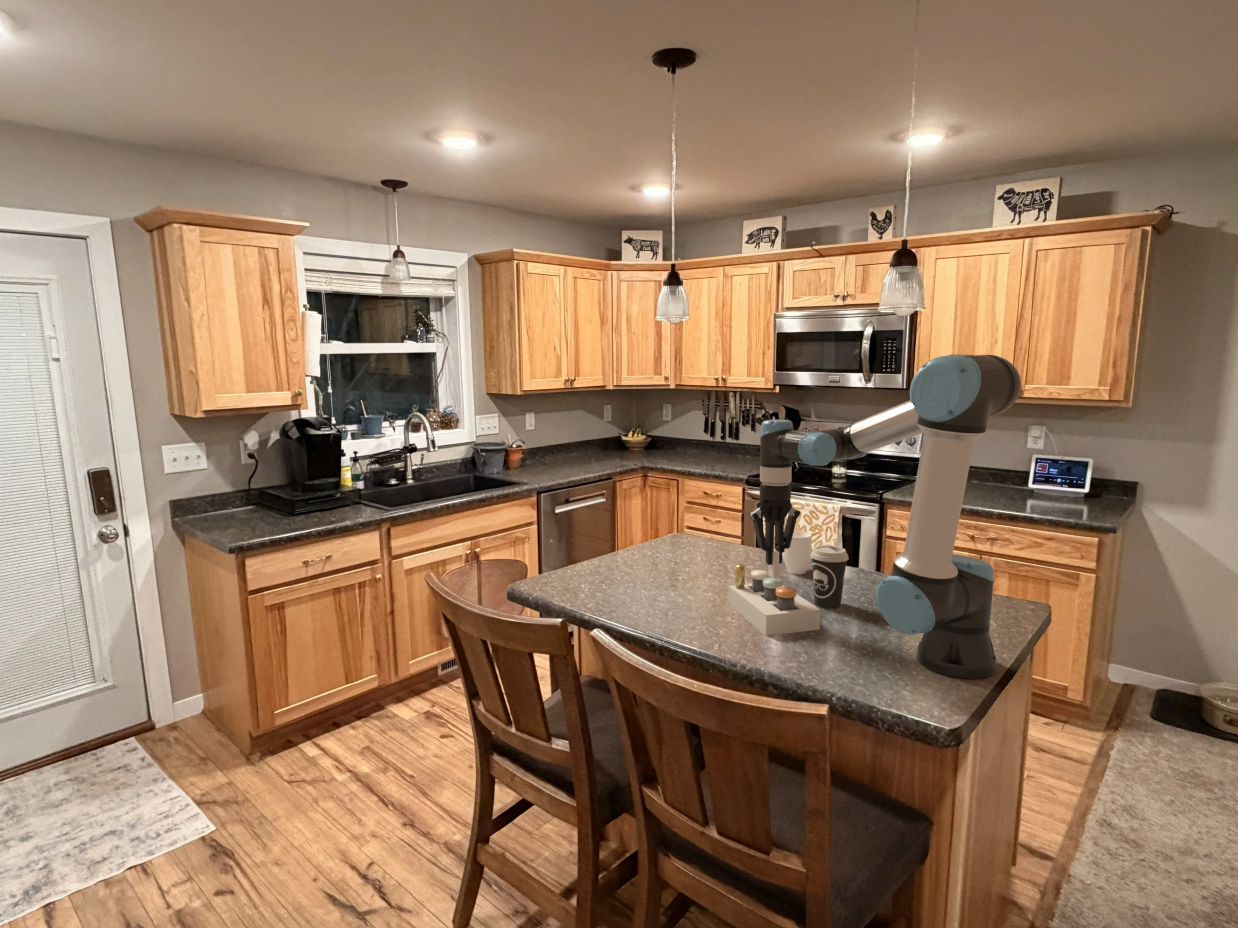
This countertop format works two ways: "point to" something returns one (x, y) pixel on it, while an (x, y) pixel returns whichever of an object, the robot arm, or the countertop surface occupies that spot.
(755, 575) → the knob
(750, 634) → the countertop surface
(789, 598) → the knob
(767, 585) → the knob
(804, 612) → the panel
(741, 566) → the cylinder
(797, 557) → the mug
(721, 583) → the countertop surface
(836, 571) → the coffee cup
